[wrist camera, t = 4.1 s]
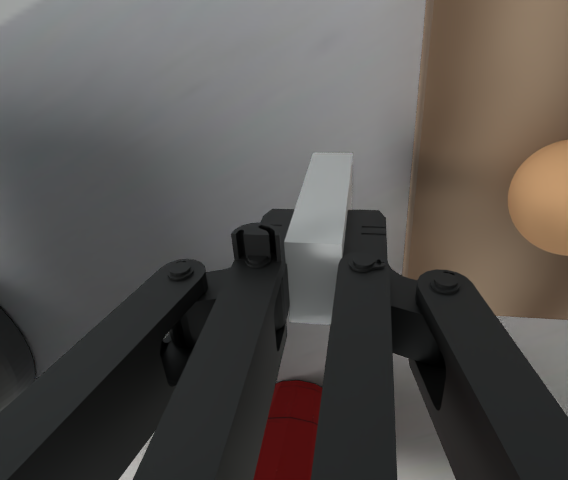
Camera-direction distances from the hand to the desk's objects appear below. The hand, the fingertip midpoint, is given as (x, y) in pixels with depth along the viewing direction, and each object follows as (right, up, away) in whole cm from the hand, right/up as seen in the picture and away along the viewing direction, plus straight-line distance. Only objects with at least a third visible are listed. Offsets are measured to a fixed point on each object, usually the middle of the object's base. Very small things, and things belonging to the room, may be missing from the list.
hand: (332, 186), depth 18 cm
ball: (+8, -1, -2) cm, 8 cm away
